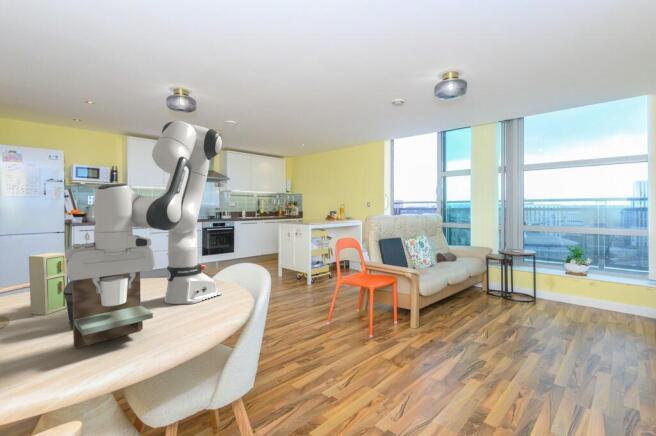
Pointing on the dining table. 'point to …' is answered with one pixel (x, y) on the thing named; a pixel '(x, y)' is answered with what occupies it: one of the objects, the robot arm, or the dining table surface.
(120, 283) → the white cup
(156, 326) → the dining table surface
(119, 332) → the wall shelf
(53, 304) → the toy refrigerator
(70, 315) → the beverage cup
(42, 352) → the dining table surface
